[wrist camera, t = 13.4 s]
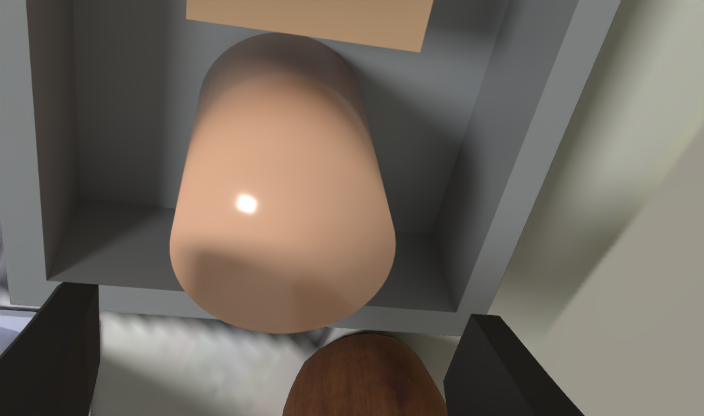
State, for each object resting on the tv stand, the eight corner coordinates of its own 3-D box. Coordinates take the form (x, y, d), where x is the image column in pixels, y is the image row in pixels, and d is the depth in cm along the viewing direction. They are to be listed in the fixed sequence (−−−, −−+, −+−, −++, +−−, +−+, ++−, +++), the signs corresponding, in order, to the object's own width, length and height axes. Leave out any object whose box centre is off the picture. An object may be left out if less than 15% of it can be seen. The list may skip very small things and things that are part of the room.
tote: (443, 241, 26) (476, 337, 22) (56, 203, 23) (10, 304, 19) (653, -359, 16) (788, -390, 12) (13, -554, 13) (-104, -684, 9)
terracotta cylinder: (344, 187, 22) (369, 340, 17) (192, 169, 21) (164, 325, 16) (378, 47, 20) (421, 173, 14) (205, 19, 19) (176, 142, 13)
